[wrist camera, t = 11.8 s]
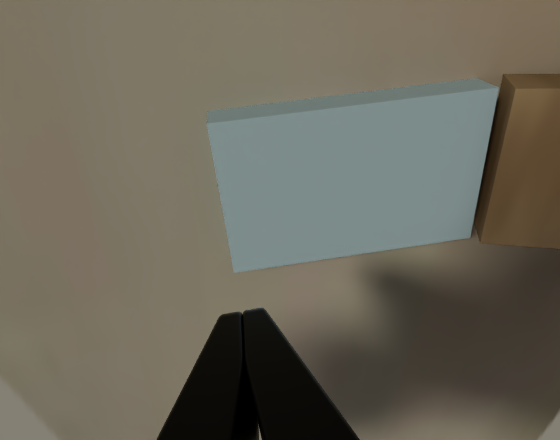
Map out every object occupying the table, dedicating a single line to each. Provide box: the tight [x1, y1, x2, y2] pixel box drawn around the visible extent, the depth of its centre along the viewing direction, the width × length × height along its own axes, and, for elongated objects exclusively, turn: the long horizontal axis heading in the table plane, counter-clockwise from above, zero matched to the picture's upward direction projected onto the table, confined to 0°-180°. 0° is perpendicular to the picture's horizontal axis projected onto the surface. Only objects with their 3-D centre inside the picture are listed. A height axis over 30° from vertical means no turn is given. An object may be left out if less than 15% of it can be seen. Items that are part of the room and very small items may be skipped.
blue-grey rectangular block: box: [207, 78, 499, 273], centre depth 13 cm, size 5×2×8 cm
